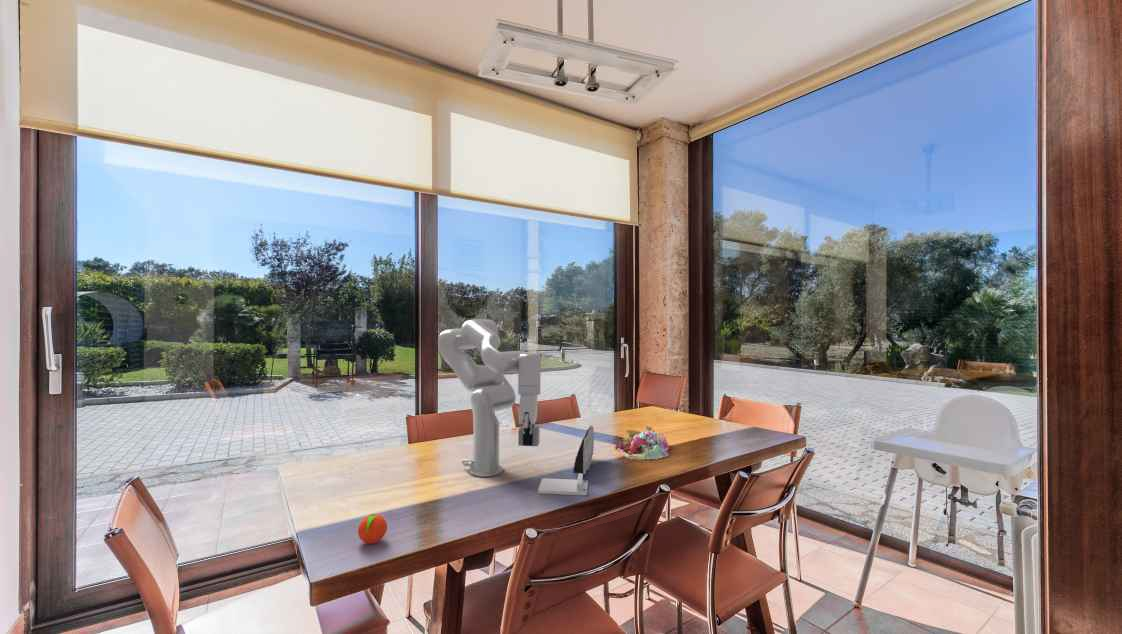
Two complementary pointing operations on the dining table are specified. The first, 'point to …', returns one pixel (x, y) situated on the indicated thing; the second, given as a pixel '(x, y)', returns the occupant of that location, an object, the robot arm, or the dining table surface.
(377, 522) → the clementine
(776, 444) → the dining table surface
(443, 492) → the dining table surface
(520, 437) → the module
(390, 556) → the dining table surface
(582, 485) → the plate
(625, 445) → the candy landscape model
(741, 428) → the dining table surface
